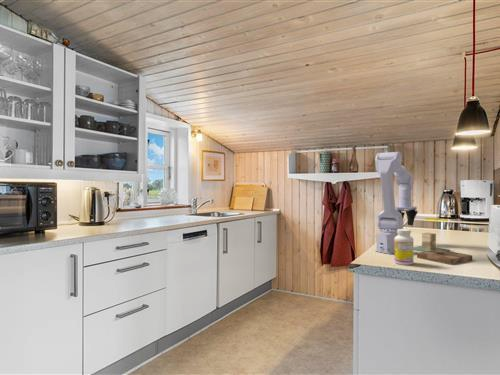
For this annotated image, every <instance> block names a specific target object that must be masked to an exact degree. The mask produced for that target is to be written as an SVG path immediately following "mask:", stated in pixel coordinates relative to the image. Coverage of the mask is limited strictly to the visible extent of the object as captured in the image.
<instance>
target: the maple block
mask: <svg viewBox="0 0 500 375" xmlns="http://www.w3.org/2000/svg"><path fill="white" fill-rule="evenodd" d="M436 234H437V233H435V232H423V233H421V246H422V249H427V250H433V249H436V247H437V235H436Z"/></svg>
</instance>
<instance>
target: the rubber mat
mask: <svg viewBox="0 0 500 375" xmlns="http://www.w3.org/2000/svg"><path fill="white" fill-rule="evenodd" d="M413 250H414V251H418V252H426V251H432V250H427V249H422V245H420V246H413ZM433 250H444V251H450V252H451V249H449V248H448V249H447V248H442V247H437V246H436V249H433Z"/></svg>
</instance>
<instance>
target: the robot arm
mask: <svg viewBox="0 0 500 375" xmlns="http://www.w3.org/2000/svg"><path fill="white" fill-rule="evenodd" d="M402 156H403V155H402V153H401V152H400V151H391V152H389V151H388V152H378V153H376V156H375V159H374V163H375V169H376V170H375V171H376V172H377V173H378V174H379V177H380V185H381V194H382V195H381V196H382V206H383V210H381V211H380V212H379V213H378V215H377V223H376V224H377V228H378V230H380V232H379V233H378V234H377V236H376V249H375V250H374V251H375V252H378V253H382V254H388V255H391V254H395V237H396V236H398V233H397V229H404V216H405V214H406V218H407V225H408V226H413V225H414V222H415V219H416V216H417V215H418V213H419V212H418V210H417V209H418V208H417V206H413V205H412V203H413V202H412V200H413V199H412V198H413V197H412V196H413V195H412V193H413V192H412V191H413V190H412V189H413V187H414V185H413V184H414V175H413V174H411V173H409V171H408V170H407V168H406V167H405V166H404V165H402V163H403V157H402ZM393 174H394V176H395V178H396V183H397V186H398V206H396V202H395V201H396V200H395V191H394V180H393V179H394V178H393Z"/></svg>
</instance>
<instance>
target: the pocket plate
mask: <svg viewBox="0 0 500 375" xmlns="http://www.w3.org/2000/svg"><path fill="white" fill-rule="evenodd" d="M416 258H417V259H422V260H426V261H431V262H436V263H439V264H446V265H456V264H461V263H466V262H471V261H473V254H466V253H461V252H454V251H451V250H450V251H444V250H432V251H426V252H422V251H418V252H416Z"/></svg>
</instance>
